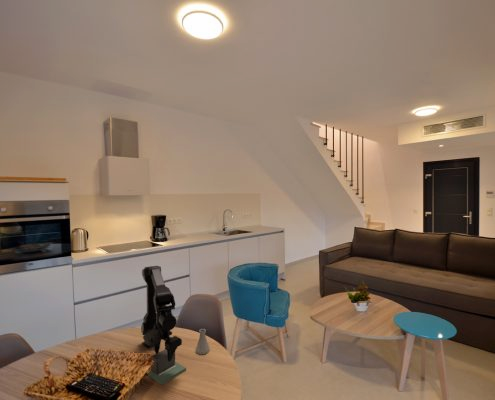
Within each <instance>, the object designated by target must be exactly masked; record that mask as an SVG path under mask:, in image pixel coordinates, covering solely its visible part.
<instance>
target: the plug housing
mask: <svg viewBox="0 0 495 400" xmlns="http://www.w3.org/2000/svg"><path fill="white" fill-rule="evenodd" d="M151 359H152V360H153V361H154V365H153V367H152V369H151V371H153V372H154V373H156V374H159V373H161V372H162V371H164V370H166V369H168V368H169V367H171V366H173V365H175V362H176V352H175V353H174V355H173V357H172V359H171V361H168V354H167V350H166V349H165V348H164V349H163V350H161V351H159V352H158V353H157V354H156V353H154V354H152V355H151V356H150V360H151Z"/></svg>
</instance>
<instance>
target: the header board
mask: <svg viewBox="0 0 495 400" xmlns="http://www.w3.org/2000/svg"><path fill="white" fill-rule="evenodd" d="M186 371H187V368H186V366H184V365H182V364H180V363H179V362H178V361H175V365H173V366H171V367H169V368H168V369H166V370H164V371H162V372H161V373H159V374H156V373H154V372H153V371H150V372H149V373H148V375H147V376H149V377H150V378H152V379H153V380H154V381H156V382H157V383H159V384H160V385H164V384H166V383H167V382H169V381H171V380H172V379H174V378H176V377H177V376H179V375H180V374H182V373H184V372H186Z"/></svg>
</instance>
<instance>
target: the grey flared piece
mask: <svg viewBox="0 0 495 400" xmlns="http://www.w3.org/2000/svg"><path fill="white" fill-rule="evenodd" d="M198 331H199V338H198V341H197V345H196V347H195V352H194V353H195V354H197V355H207V354H208V353H209V352H210V351H211V350H210V349H211V347H210V345H209V342H208V340H207V337H206V335H207V334H206V331H207V330H206V329H205V328H200V329H199V330H198Z"/></svg>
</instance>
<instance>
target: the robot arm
mask: <svg viewBox="0 0 495 400" xmlns="http://www.w3.org/2000/svg"><path fill="white" fill-rule="evenodd" d="M141 274H142V277H143V281H144V282H145V284H146V313H145V315H144V316H143V317H142V318H143V320H142V324H141V326H140V331H141V334H142V336H143V337H142V339H143V341H142V342H141V345H143V346H144V347H146V348H151V347H153V350H154V354H157V353H159V352H160V348H161V343H162V340H163V341H164V350H165V349H166V350H167V354H168V361H171V359H172V357H173V355H174V353H175V354H176V351H177V348H178V347H180V346H181V345H183V343H182V342H183V339H182V338H181V337H179V336H177V335H173V331H172V330H173V329H174V328H175V327H176V326H177V322H178V321H177V318H176V317H175V316H174V314H173V313H172V310H175V309H176V301H175V296H174V295H173V293H172V291H171V289H170V287H168V286H166V284H165V281H164V278H163V275H162V267H161V266H160V265H153V266H152V265H150V266H144V268H143V269H142V270H141ZM171 335H173V336H171Z"/></svg>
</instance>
